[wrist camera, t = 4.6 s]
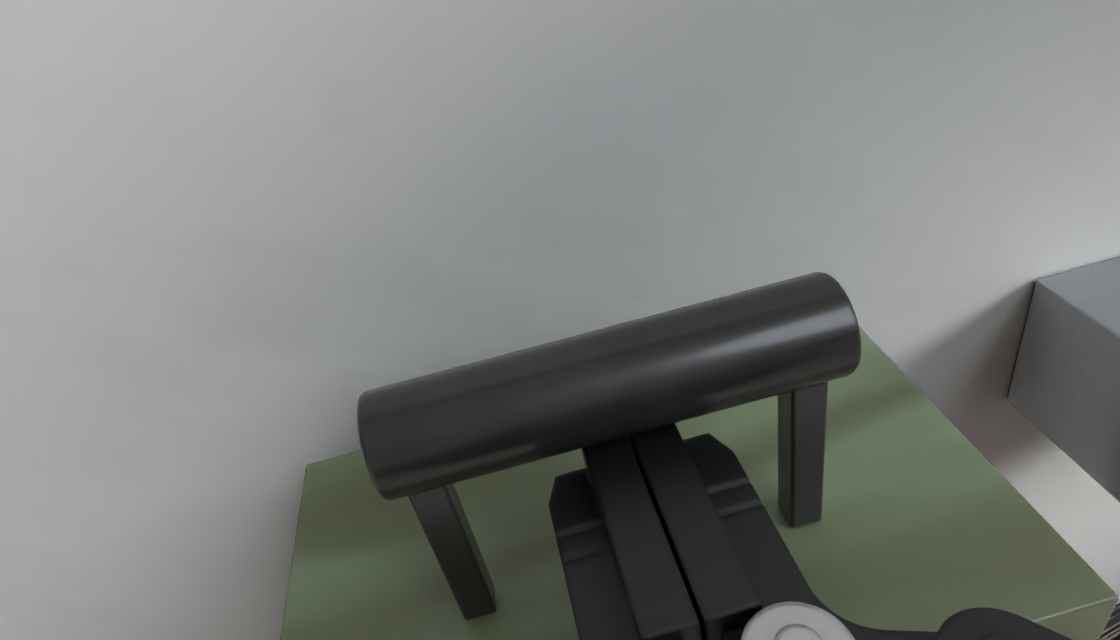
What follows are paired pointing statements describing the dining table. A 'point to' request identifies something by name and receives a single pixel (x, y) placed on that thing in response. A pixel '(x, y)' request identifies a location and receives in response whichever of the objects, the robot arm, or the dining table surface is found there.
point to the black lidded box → (1075, 367)
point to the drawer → (696, 408)
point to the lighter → (1112, 626)
